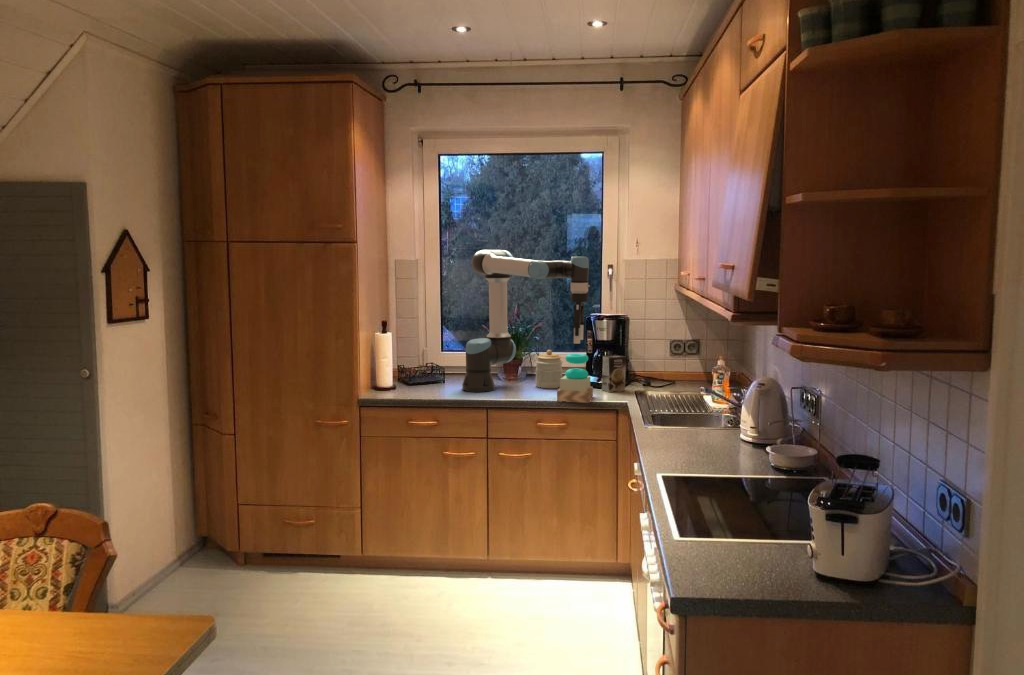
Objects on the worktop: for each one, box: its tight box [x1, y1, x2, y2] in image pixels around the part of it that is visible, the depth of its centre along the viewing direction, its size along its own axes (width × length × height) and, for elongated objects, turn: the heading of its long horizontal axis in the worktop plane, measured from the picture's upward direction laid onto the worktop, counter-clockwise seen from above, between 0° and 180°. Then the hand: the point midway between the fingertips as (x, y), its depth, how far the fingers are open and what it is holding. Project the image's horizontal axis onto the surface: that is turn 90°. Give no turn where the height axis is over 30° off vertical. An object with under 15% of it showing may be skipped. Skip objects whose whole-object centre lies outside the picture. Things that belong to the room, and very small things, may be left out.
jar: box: [535, 349, 564, 389], centre depth 368 cm, size 13×13×18 cm
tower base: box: [556, 386, 594, 404], centre depth 338 cm, size 14×14×5 cm
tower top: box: [559, 374, 591, 392], centre depth 337 cm, size 11×11×5 cm
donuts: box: [564, 353, 589, 379], centre depth 336 cm, size 10×10×10 cm
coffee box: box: [601, 354, 627, 393], centre depth 357 cm, size 9×6×16 cm
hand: (578, 341), depth 334 cm, fingers open, 13 cm apart
